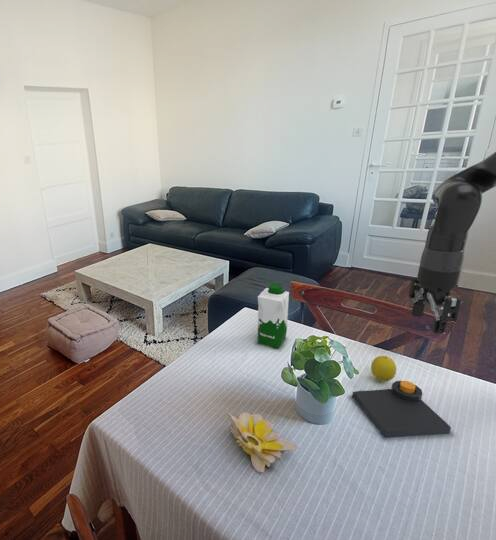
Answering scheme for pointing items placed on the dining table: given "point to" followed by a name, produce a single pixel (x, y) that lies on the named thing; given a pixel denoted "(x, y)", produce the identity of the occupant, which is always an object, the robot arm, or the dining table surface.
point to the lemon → (383, 368)
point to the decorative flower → (258, 439)
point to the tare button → (407, 387)
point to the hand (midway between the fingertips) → (426, 323)
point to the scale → (400, 412)
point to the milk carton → (272, 316)
